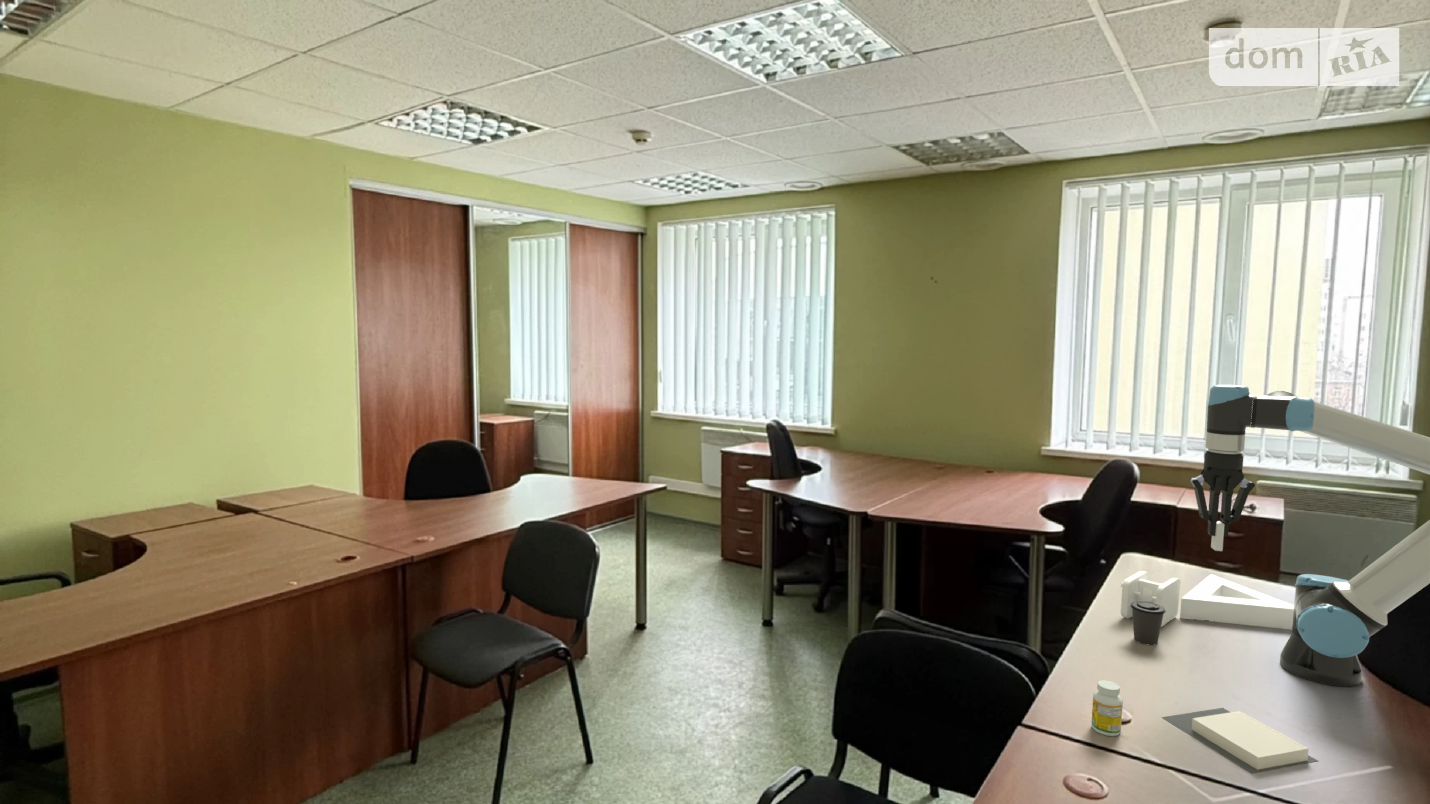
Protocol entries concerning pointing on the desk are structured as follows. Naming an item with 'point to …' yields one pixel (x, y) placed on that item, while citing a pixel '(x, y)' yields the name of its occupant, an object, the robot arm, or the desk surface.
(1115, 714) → the supplement bottle
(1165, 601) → the cable organizer
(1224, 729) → the tile
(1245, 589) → the triangle block
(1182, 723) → the mat
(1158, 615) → the coffee cup
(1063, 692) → the desk surface
